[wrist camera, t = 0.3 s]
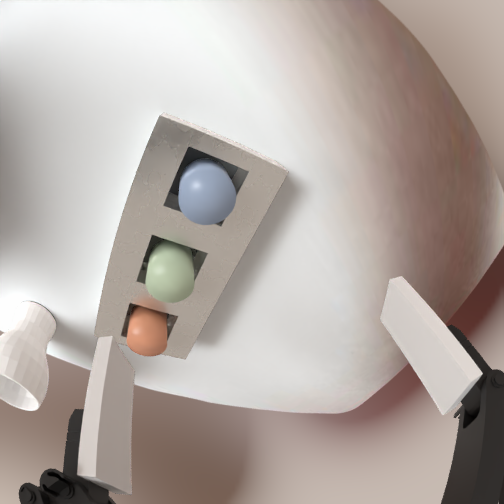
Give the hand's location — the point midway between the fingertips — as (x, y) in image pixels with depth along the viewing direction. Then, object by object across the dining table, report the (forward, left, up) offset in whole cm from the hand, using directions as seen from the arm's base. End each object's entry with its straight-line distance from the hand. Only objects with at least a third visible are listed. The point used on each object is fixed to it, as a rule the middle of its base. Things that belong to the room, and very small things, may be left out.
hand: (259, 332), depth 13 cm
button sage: (-1, -10, -21) cm, 23 cm away
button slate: (-1, 0, -21) cm, 21 cm away
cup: (-19, -31, -24) cm, 44 cm away
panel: (-1, -10, -23) cm, 25 cm away
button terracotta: (-1, -20, -21) cm, 29 cm away
